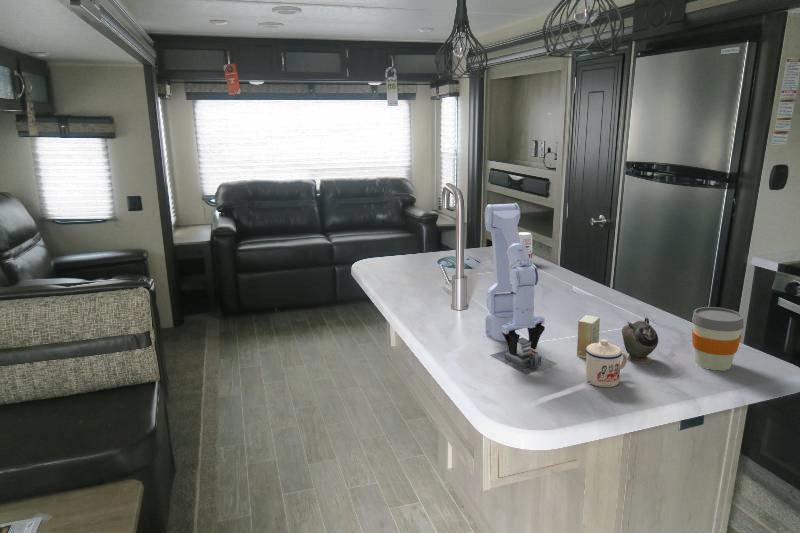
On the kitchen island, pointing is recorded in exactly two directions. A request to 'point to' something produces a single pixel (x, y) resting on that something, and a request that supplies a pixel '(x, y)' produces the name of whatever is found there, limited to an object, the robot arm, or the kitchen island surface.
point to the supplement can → (527, 242)
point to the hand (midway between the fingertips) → (522, 351)
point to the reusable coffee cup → (716, 336)
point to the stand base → (524, 361)
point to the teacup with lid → (604, 364)
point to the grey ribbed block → (523, 348)
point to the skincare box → (587, 333)
